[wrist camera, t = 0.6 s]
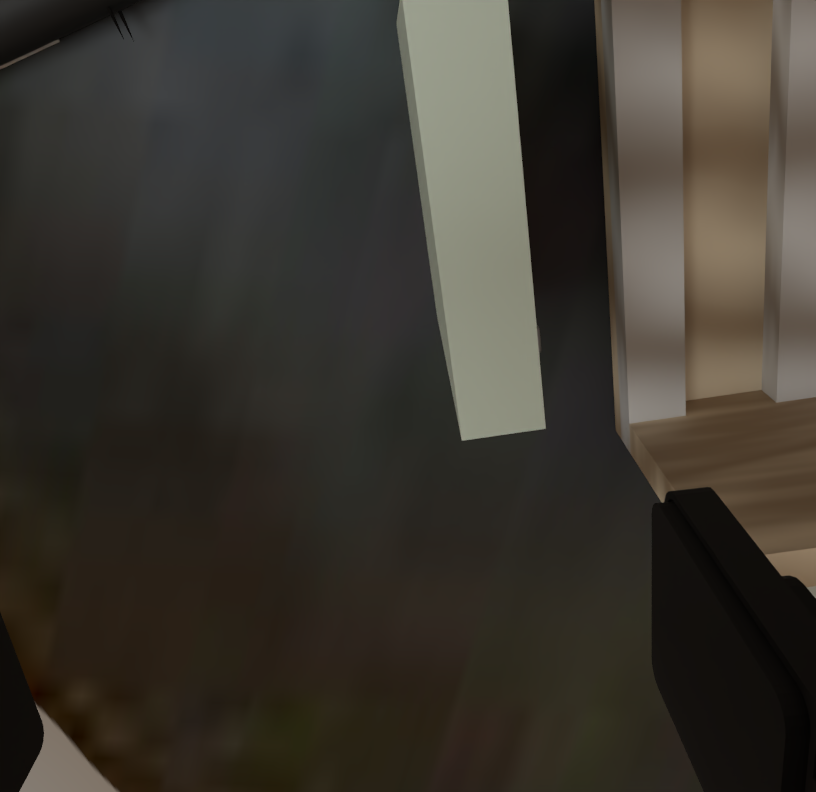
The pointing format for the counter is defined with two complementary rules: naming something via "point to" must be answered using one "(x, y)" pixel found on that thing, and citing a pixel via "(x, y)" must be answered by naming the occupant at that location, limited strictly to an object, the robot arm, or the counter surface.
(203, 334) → the counter surface
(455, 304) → the door panel
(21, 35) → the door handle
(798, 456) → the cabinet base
